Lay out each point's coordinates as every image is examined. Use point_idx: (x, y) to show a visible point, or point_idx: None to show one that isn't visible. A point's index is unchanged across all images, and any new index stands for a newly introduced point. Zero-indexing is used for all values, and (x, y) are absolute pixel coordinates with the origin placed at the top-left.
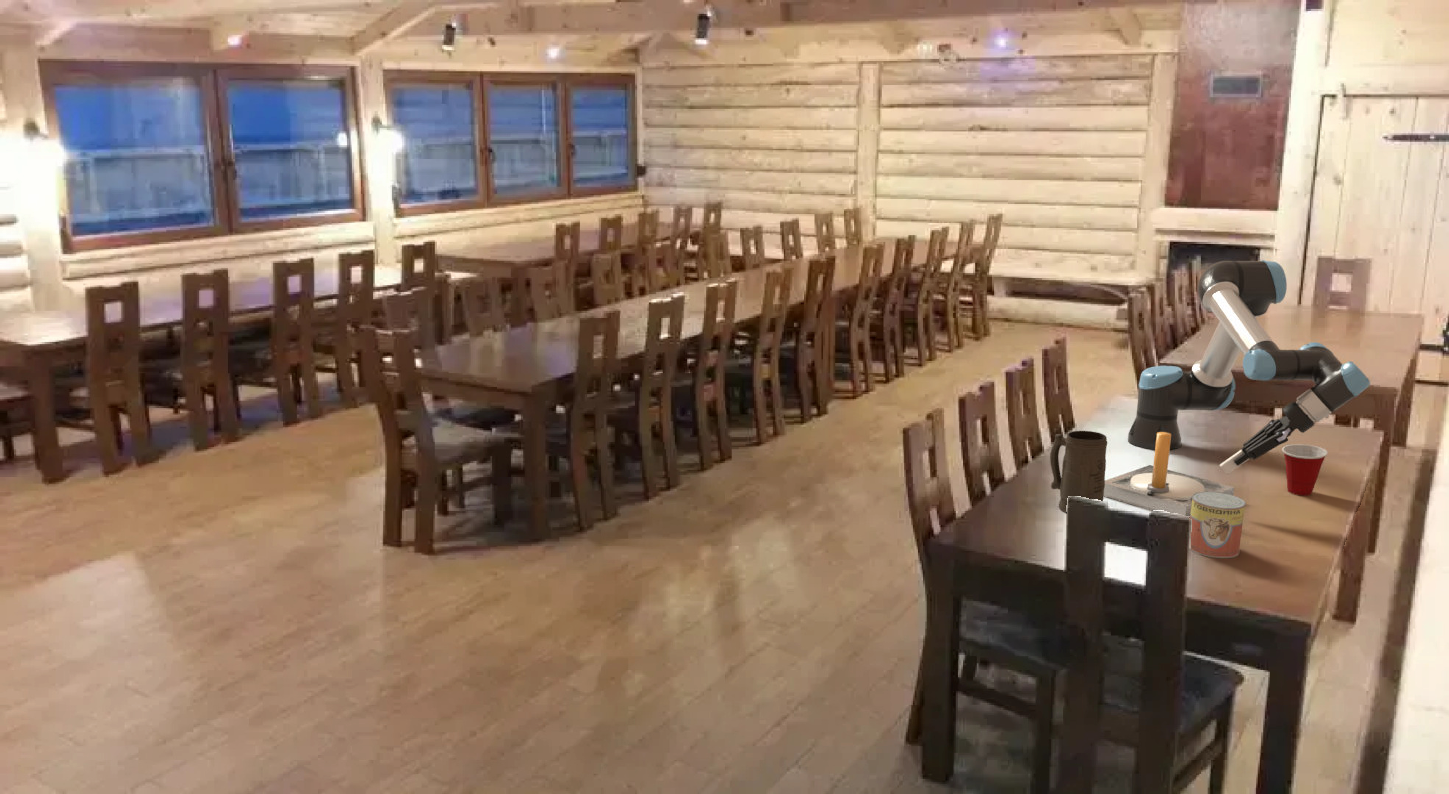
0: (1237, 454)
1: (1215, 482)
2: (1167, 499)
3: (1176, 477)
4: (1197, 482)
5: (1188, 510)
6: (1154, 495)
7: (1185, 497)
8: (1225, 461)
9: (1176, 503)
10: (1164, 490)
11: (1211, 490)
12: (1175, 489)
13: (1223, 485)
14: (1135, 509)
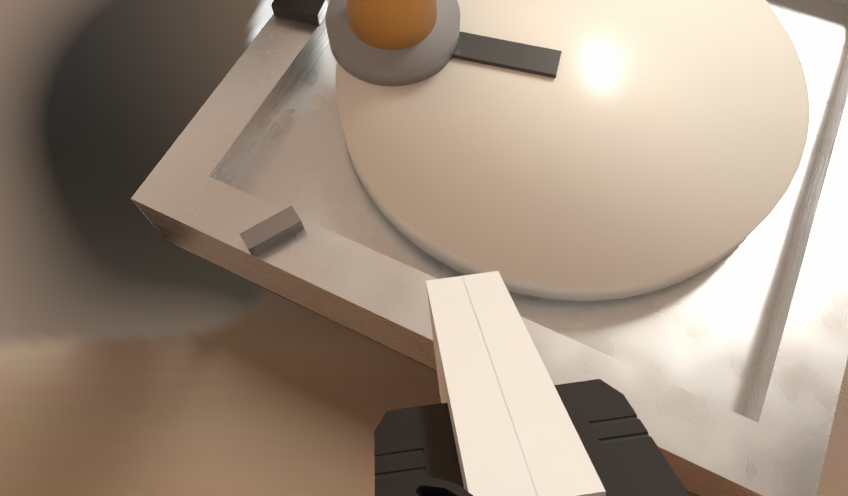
0: (457, 434)
1: (837, 361)
2: (243, 93)
3: (746, 107)
4: (717, 234)
5: (173, 228)
6: (297, 30)
7: (371, 189)
8: (483, 311)
9: (175, 142)
10: (338, 52)
11: (728, 352)
12: (458, 117)
13: (794, 425)
14: (265, 20)
